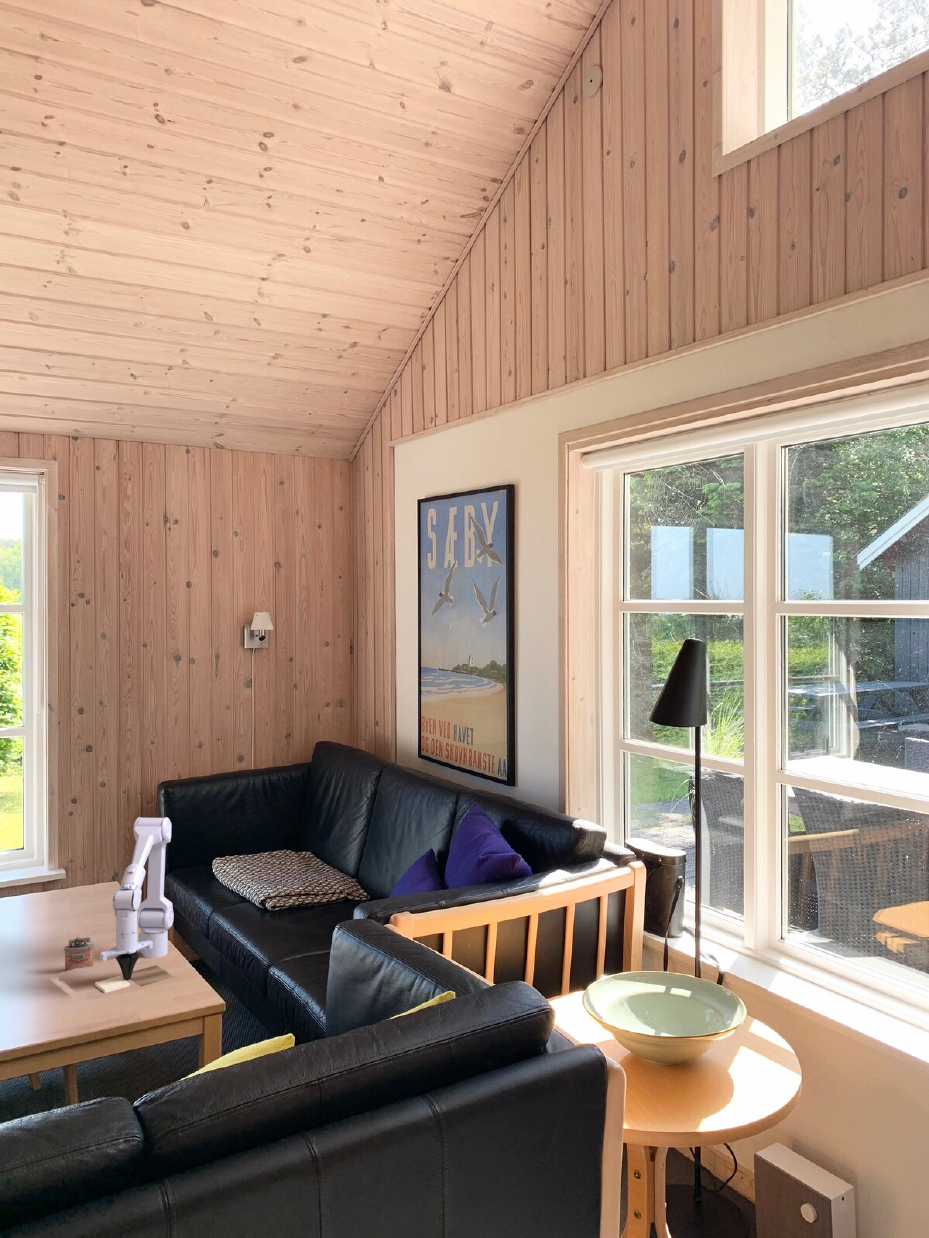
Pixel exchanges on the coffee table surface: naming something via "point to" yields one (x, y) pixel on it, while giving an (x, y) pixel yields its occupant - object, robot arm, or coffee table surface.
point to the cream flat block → (112, 984)
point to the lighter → (78, 953)
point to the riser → (150, 975)
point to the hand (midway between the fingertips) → (127, 979)
